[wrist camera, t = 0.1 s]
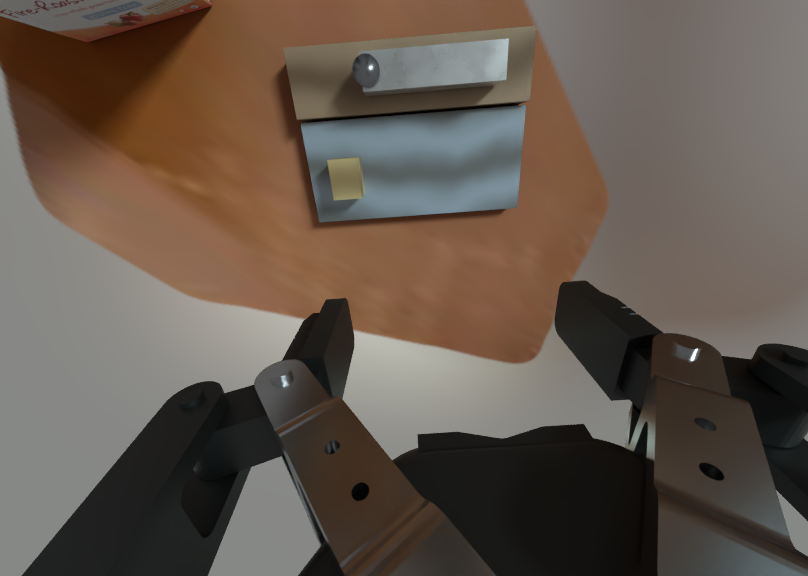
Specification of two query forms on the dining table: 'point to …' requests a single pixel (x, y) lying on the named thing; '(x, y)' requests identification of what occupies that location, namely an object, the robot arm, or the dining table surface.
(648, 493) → the robot arm
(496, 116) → the latched flap box
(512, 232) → the dining table surface
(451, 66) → the lock bar
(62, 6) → the cracker box
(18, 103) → the dining table surface
